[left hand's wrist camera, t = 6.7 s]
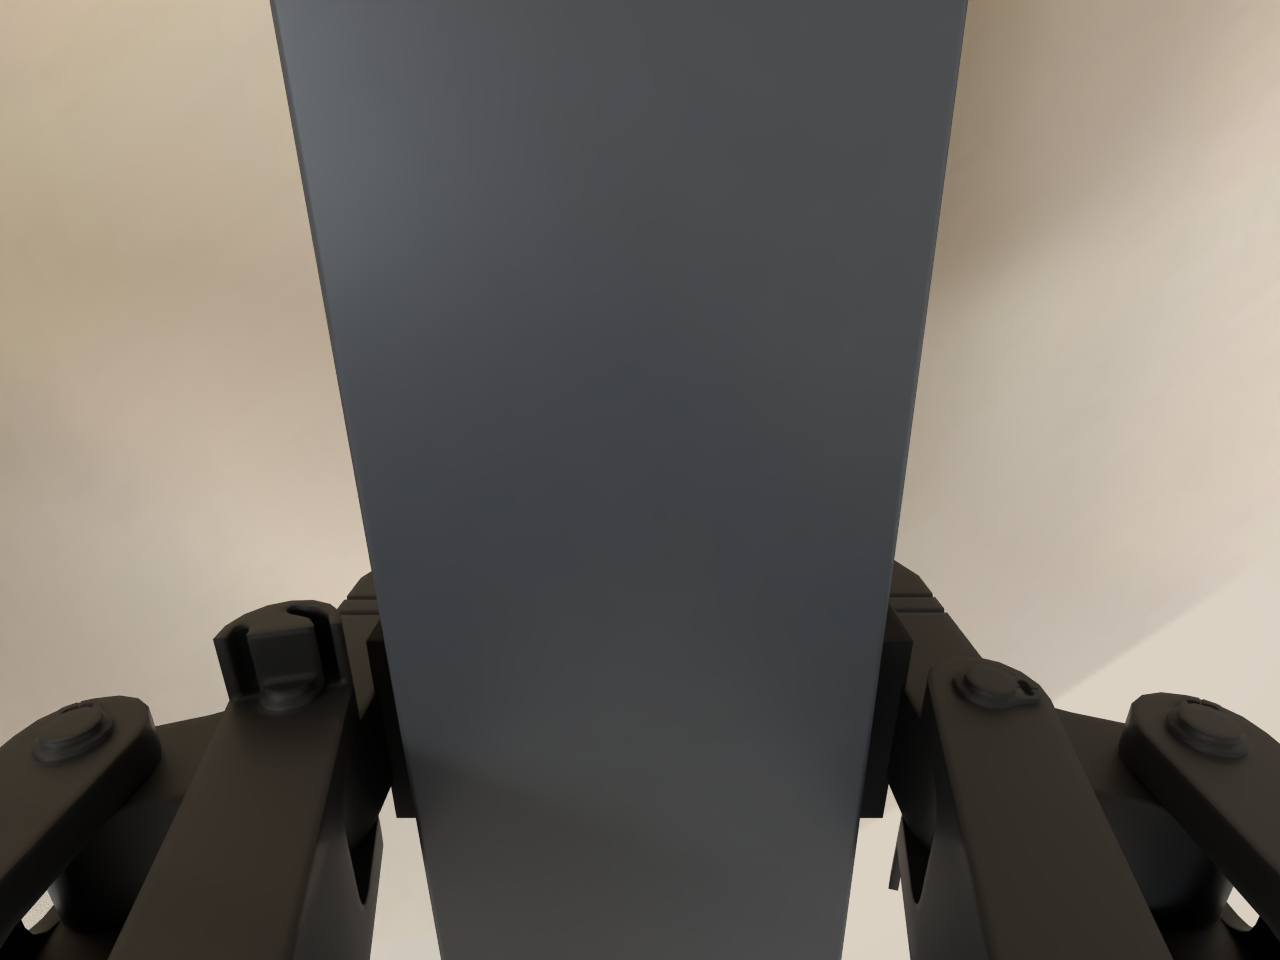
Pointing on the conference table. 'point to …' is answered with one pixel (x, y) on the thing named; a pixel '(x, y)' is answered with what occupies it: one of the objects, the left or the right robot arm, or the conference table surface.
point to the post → (628, 436)
